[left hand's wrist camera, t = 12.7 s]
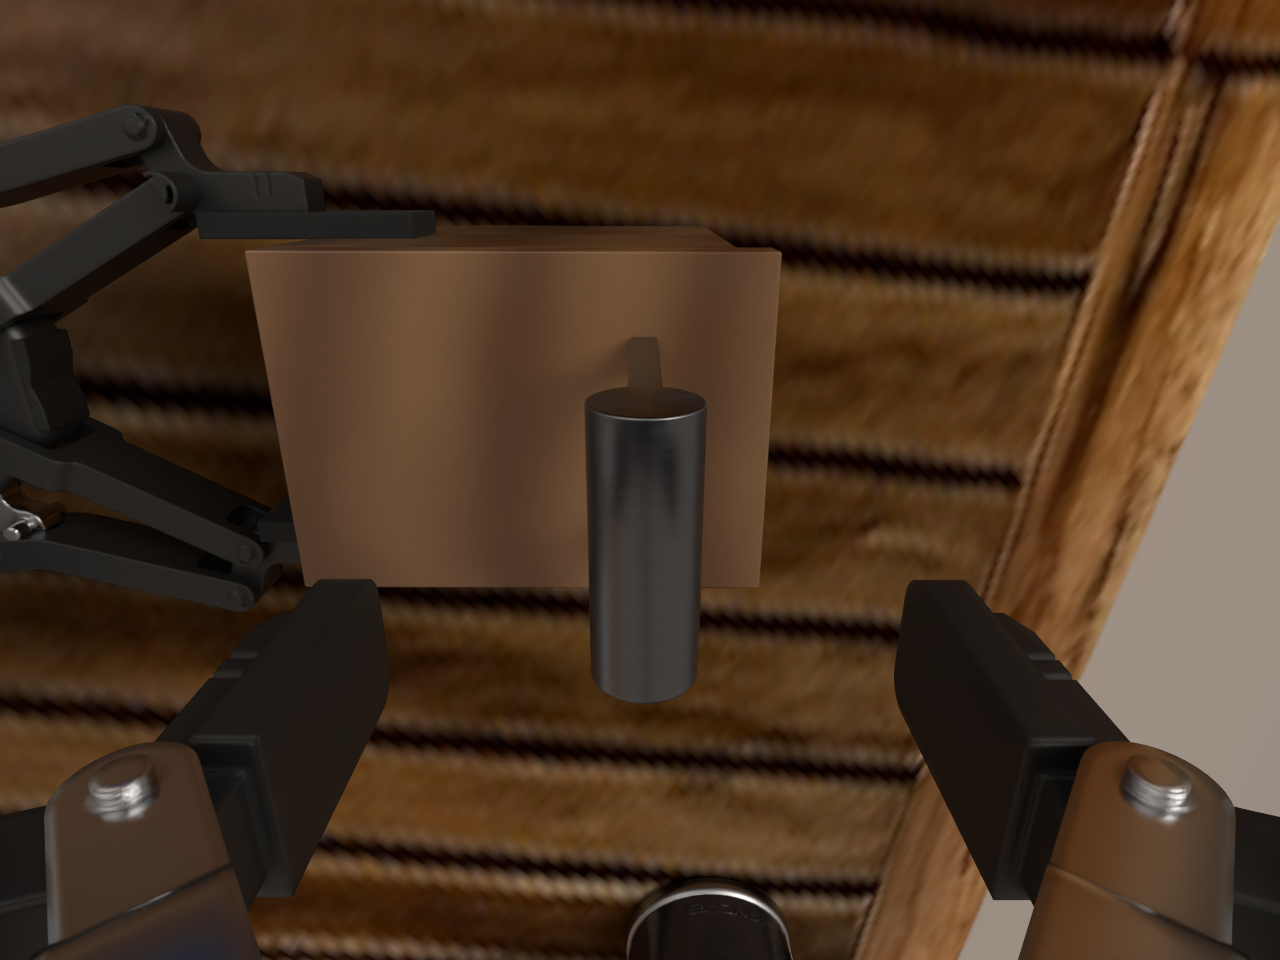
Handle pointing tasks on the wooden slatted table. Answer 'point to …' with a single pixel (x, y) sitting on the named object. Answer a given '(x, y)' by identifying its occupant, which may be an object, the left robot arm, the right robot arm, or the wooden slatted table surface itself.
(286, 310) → the lid
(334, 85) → the wooden slatted table surface
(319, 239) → the chest
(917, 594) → the left robot arm
